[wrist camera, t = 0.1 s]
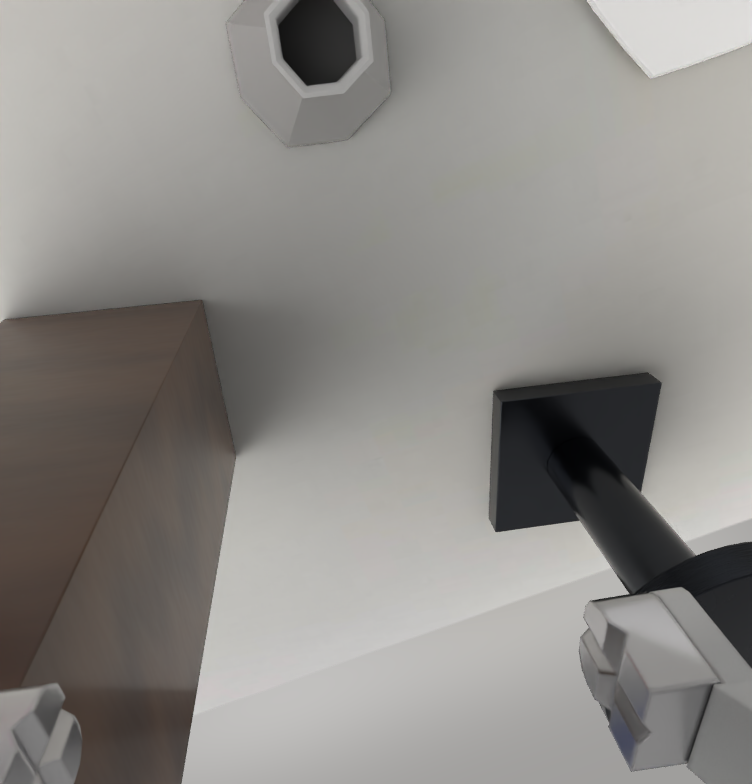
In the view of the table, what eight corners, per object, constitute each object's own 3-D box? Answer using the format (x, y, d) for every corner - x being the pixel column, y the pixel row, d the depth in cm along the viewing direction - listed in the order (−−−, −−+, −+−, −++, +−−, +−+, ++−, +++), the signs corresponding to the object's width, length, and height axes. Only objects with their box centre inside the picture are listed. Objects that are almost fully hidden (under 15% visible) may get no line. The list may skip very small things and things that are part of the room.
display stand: (631, 503, 40) (822, 731, 26) (481, 524, 39) (590, 772, 25) (657, 364, 35) (913, 549, 21) (485, 384, 34) (626, 593, 20)
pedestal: (236, 457, 34) (117, 1172, 11) (66, 478, 34) (-431, 1293, 11) (202, 299, 30) (-115, 969, 7) (4, 319, 29) (-1122, 1157, 6)
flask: (279, 174, 27) (272, 208, 19) (196, 10, 24) (138, -43, 15) (415, 104, 27) (474, 105, 18) (348, -74, 23) (380, -180, 15)
